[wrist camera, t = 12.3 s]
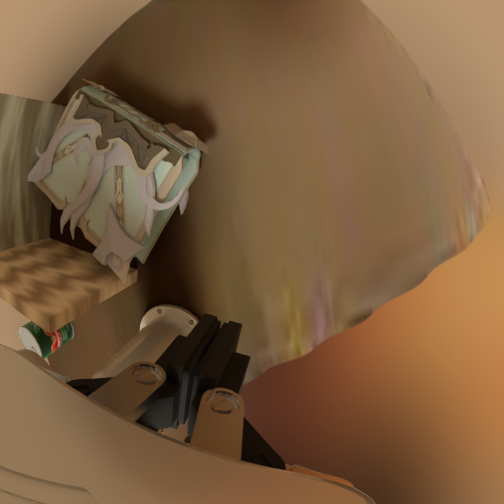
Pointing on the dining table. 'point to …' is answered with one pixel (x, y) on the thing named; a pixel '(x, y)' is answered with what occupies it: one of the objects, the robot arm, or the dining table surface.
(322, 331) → the dining table surface
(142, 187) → the ornate book
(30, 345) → the canned tomato
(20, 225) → the wooden corner bracket
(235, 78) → the dining table surface
